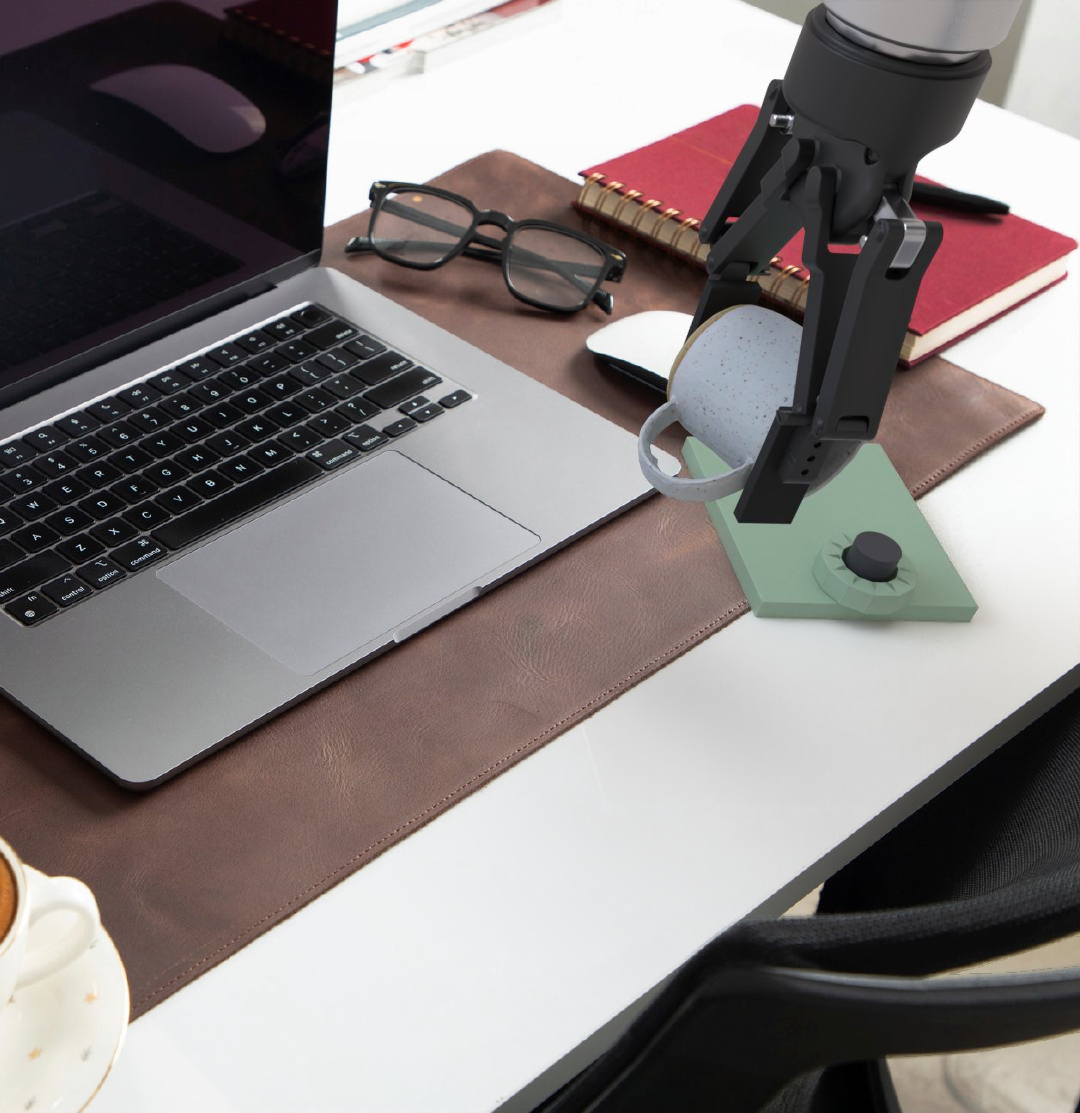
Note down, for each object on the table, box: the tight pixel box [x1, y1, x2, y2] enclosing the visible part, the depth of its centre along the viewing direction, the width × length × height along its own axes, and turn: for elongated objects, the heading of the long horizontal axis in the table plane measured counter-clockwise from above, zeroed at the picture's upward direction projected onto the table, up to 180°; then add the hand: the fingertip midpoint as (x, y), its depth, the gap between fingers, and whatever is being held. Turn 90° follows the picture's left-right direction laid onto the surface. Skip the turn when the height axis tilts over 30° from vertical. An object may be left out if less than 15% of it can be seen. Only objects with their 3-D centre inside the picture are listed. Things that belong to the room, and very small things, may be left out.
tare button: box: [845, 531, 902, 582], centre depth 89 cm, size 3×3×2 cm
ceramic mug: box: [637, 304, 867, 504], centre depth 72 cm, size 11×8×8 cm
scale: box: [681, 436, 979, 623], centre depth 94 cm, size 17×14×3 cm
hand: (727, 449), depth 74 cm, fingers closed on ceramic mug, 10 cm apart
